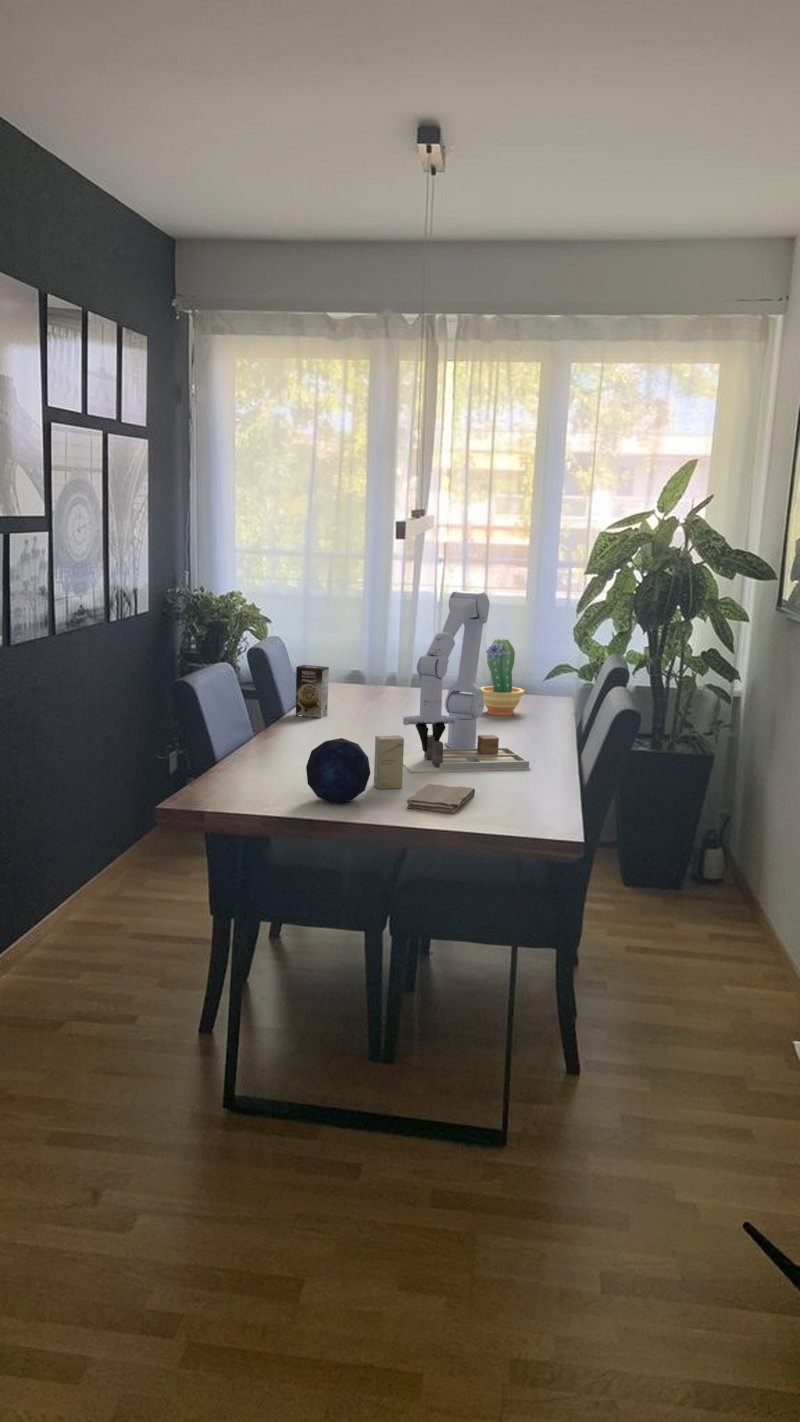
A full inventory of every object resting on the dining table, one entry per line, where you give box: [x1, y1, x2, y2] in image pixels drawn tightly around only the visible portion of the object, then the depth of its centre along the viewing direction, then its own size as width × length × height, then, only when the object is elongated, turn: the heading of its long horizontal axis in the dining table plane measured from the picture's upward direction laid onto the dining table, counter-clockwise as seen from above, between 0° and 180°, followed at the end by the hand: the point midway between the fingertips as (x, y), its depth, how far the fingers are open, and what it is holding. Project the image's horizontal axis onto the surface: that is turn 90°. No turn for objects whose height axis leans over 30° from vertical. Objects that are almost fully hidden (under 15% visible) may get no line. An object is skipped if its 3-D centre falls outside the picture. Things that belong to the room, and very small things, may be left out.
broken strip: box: [432, 740, 517, 766], centre depth 271 cm, size 6×22×6 cm, turn 102°
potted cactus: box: [480, 638, 525, 716], centre depth 347 cm, size 15×15×25 cm
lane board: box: [403, 746, 531, 774], centre depth 275 cm, size 18×32×2 cm, turn 102°
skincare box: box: [373, 735, 405, 790], centre depth 247 cm, size 6×4×12 cm
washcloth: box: [406, 783, 476, 815], centre depth 236 cm, size 12×18×3 cm, turn 162°
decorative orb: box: [305, 737, 371, 804], centre depth 234 cm, size 14×15×15 cm
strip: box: [423, 734, 506, 759], centre depth 279 cm, size 6×22×6 cm, turn 102°
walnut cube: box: [476, 734, 500, 755], centre depth 280 cm, size 4×4×4 cm
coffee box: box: [295, 664, 330, 719], centre depth 334 cm, size 9×6×16 cm
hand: (429, 750), depth 277 cm, fingers closed on strip, 2 cm apart
